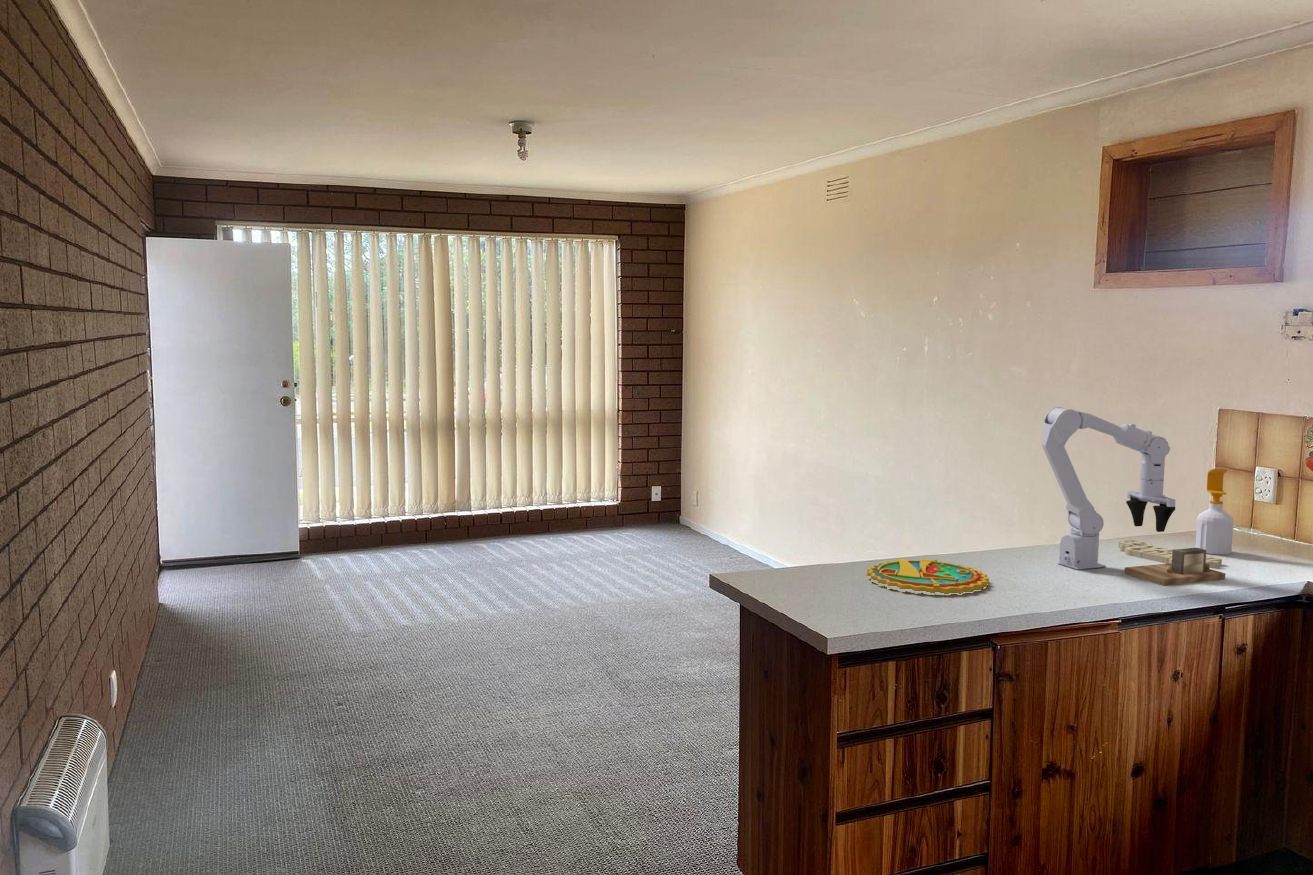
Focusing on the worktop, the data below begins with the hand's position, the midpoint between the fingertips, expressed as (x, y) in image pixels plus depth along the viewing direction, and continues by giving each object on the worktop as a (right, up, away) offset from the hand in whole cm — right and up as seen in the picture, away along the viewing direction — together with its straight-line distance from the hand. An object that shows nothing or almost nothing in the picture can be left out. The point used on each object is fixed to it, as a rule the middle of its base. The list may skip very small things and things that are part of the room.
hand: (1149, 528), depth 259 cm
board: (+1, -12, -10) cm, 15 cm away
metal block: (+5, -11, -10) cm, 16 cm away
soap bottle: (+28, -9, +18) cm, 35 cm away
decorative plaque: (-65, -13, -14) cm, 67 cm away
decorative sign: (+10, -10, +12) cm, 18 cm away
